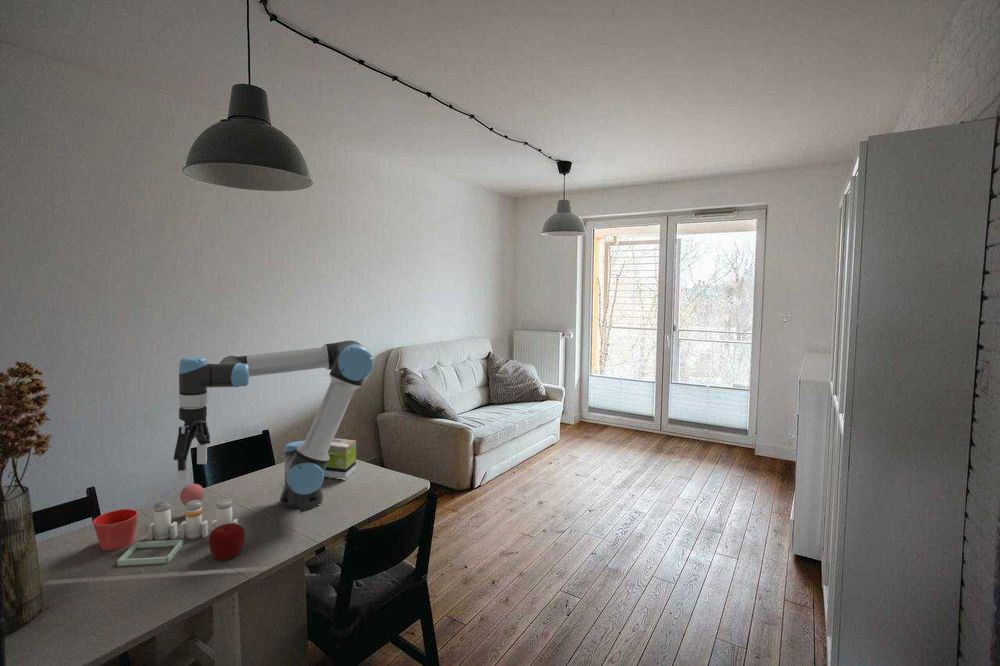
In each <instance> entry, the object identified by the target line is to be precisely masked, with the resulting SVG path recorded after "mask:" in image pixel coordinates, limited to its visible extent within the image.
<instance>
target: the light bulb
mask: <svg viewBox="0 0 1000 666" xmlns="http://www.w3.org/2000/svg"><path fill="white" fill-rule="evenodd" d="M204 497H205V489H204V488H203V486H202V485H200V484H198V483H190V484H188V485H186V486H184V487H183V488H182V489H181V491H180V494H179V498H180V501H181V503H182V505H183V506H184V507H185V504H186V503H187V502H189V501H193V500H201V501H203V499H204Z"/></svg>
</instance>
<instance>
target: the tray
mask: <svg viewBox="0 0 1000 666" xmlns="http://www.w3.org/2000/svg"><path fill="white" fill-rule="evenodd" d="M182 546H184V543H183V540H168V541H150V542H145V541H135V542H134V543H133V544H132V545H131V546H130V547H129V548H128V549H127V550H126V551H125V552H124V553H123V554H122V555H121V556H120V557H119V558H118V559H117V560H116V564H117V565H116V567H117V566H118V567H119V566H121V567H122V566H137V565H152V564H153V565H157V564H169V563H170V561H172V559H173V558H174V556H175V555H176V554H177V553H178V552H179V550H180V549H181V548H182ZM159 547H160V548H162V547H163V548H165V547H173V549H172V550H171V551H170V552H169V553H168V555H167V556H158V557H156V556H155V557H140V558H139V557H138V558H129V557H130V555H132V554H133V553H134V552H135V550H137V549H142V548H145V549H146V548H159Z"/></svg>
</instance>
